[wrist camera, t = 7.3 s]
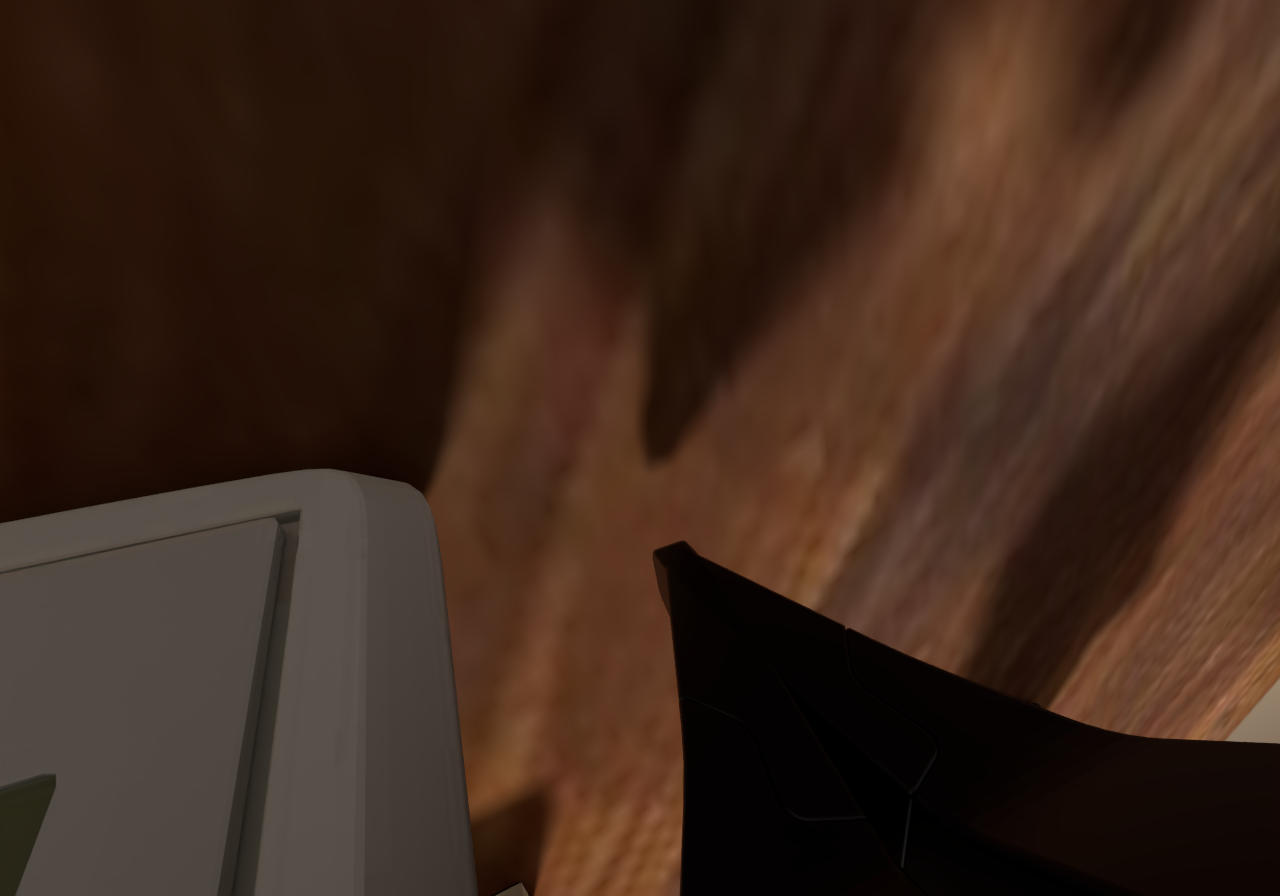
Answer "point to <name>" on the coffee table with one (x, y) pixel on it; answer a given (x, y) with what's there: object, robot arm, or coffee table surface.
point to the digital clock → (232, 696)
